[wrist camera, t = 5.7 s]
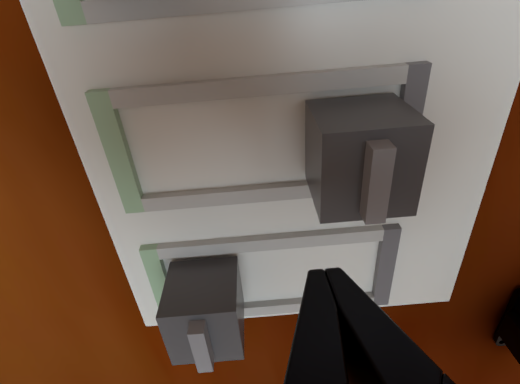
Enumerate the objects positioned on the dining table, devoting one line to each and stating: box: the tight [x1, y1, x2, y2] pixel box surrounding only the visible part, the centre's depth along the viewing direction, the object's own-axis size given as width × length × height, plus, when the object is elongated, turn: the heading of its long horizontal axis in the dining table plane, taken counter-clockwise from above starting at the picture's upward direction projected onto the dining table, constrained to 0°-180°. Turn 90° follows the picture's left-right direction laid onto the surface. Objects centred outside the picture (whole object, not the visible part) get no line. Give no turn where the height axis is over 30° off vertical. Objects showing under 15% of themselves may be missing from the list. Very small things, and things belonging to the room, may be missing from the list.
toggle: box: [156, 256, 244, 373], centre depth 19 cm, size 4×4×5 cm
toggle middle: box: [305, 93, 435, 225], centre depth 15 cm, size 4×4×5 cm
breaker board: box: [19, 0, 520, 326], centre depth 17 cm, size 21×26×2 cm
